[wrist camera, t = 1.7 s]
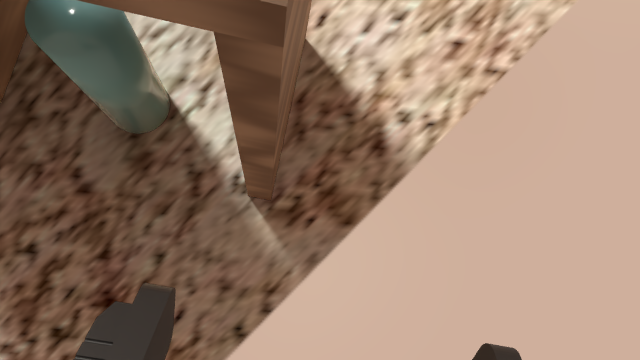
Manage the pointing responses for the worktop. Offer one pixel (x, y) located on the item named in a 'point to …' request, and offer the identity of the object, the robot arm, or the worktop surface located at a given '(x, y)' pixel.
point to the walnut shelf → (236, 62)
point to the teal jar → (101, 60)
